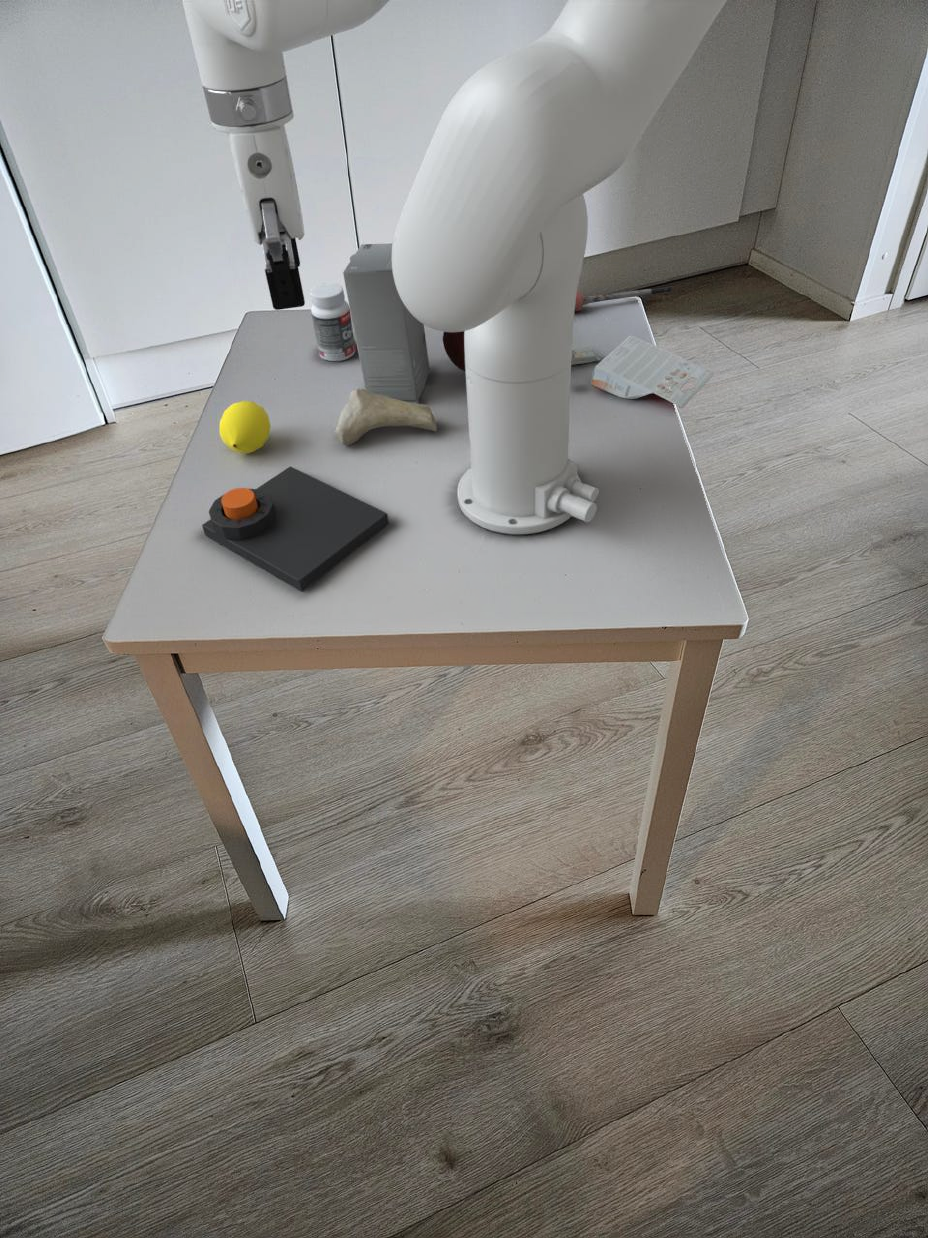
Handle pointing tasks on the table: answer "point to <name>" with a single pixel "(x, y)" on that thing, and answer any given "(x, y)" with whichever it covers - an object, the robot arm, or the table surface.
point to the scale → (297, 527)
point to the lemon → (244, 427)
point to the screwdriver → (615, 296)
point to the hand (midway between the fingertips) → (287, 286)
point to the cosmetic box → (385, 327)
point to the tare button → (239, 503)
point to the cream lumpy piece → (379, 415)
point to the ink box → (648, 372)
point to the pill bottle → (332, 322)
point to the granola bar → (584, 356)
